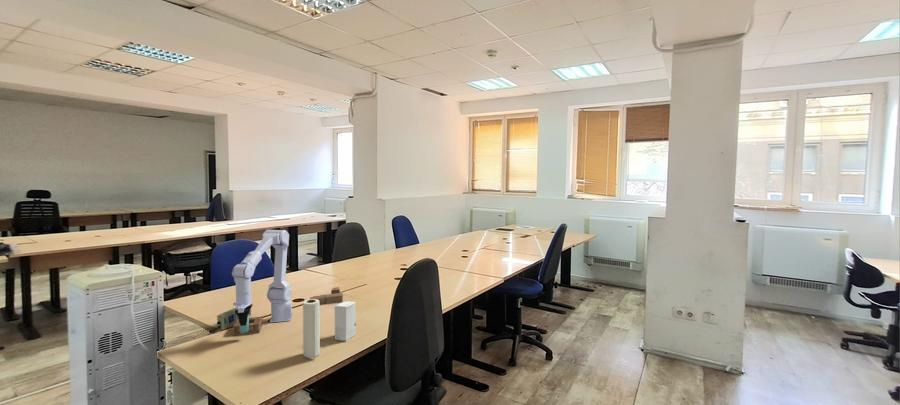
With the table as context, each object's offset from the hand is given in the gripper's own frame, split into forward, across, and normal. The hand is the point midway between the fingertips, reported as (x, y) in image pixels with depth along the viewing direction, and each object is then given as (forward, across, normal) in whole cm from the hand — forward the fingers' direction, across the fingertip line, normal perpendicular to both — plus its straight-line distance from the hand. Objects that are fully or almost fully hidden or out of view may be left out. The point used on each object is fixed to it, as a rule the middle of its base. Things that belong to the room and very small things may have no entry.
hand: (244, 323), depth 165 cm
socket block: (+7, -10, 0) cm, 12 cm away
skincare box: (+7, +10, +41) cm, 43 cm away
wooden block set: (+8, -47, +34) cm, 58 cm away
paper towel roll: (+7, +24, +27) cm, 37 cm away
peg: (+3, 0, 0) cm, 3 cm away
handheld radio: (+7, -21, -9) cm, 24 cm away
